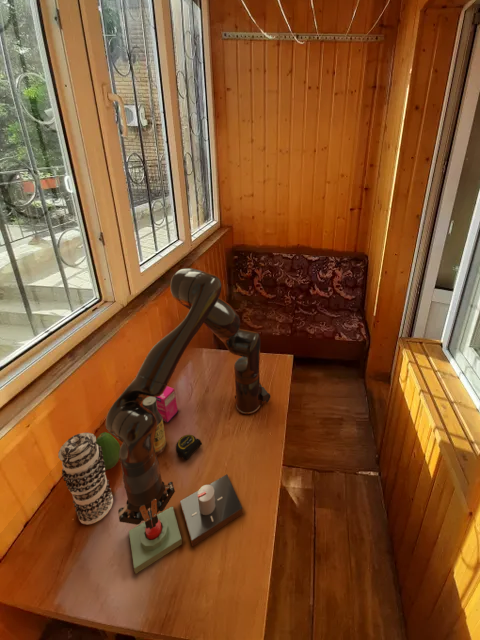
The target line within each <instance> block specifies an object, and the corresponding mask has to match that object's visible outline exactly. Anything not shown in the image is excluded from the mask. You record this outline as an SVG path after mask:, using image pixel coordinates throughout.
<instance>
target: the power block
mask: <svg viewBox="0 0 480 640" xmlns="http://www.w3.org/2000/svg"><path fill="white" fill-rule="evenodd" d="M157 517H158V520H160V522H161V527H162V530H161V533H160V534H159V536H158V537H157V538H155V539H153V540H150V539H148V538H147V536H146V531H145V529H146V525H145V521H143V522H141V523H140V524H138V525H136V526H135V527H133V528H131V529H130V530H128V536H129V542H130V550H131V557H132V564H133V571H134V574H135V575H137V574H139V572H141V571H143V570H144V569H146V568H147V567H149V566H150V565H152V564H153V563H155V562H157V561H158V560H160V559H162V558H163V557H165V556H166V555H168V554H169V553H170V552H173V551H174V550H175V549H177V548H179V547H180V546H182V545H183V540H182V536H181V532H180V528H179V524H178V520H177V516H176V513H175V509H174V506H173V505H172V506H170V507H168V508H167V509H164V510H163V511H160V513H159V512H158V513H157Z"/></svg>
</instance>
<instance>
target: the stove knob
mask: <svg viewBox="0 0 480 640" xmlns="http://www.w3.org/2000/svg"><path fill="white" fill-rule="evenodd" d="M198 490H199V491H198ZM198 490H197V491H198V494H197V496H198V504H199V511H200V513H201V514H203V515H209V514H211V513H212V512H213V511H214V509H215V506H216V503H215V493H214V488H213V486H211V485H209V484H204V485H202V486H201V487H199V489H198Z"/></svg>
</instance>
